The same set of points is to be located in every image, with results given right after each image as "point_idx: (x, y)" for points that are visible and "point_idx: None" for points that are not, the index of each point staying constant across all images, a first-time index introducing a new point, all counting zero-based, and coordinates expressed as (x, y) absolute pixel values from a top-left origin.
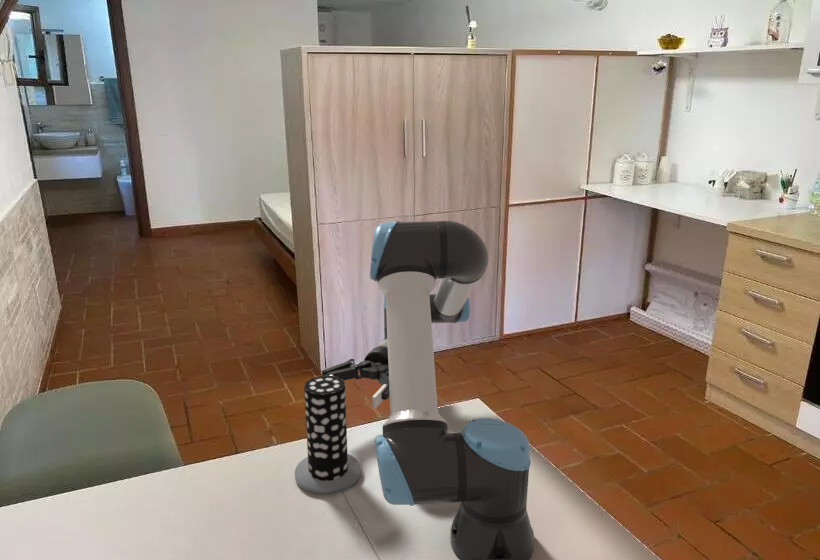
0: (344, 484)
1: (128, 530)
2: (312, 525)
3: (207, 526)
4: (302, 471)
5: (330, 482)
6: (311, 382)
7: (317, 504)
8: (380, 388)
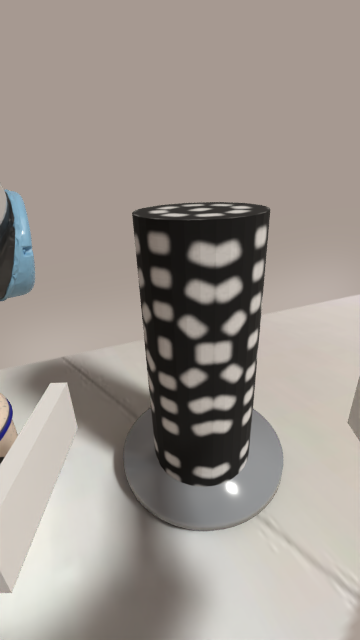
0: (143, 417)
1: (347, 314)
2: None
3: (281, 334)
4: None
5: None
6: (248, 207)
7: None
8: (19, 464)
